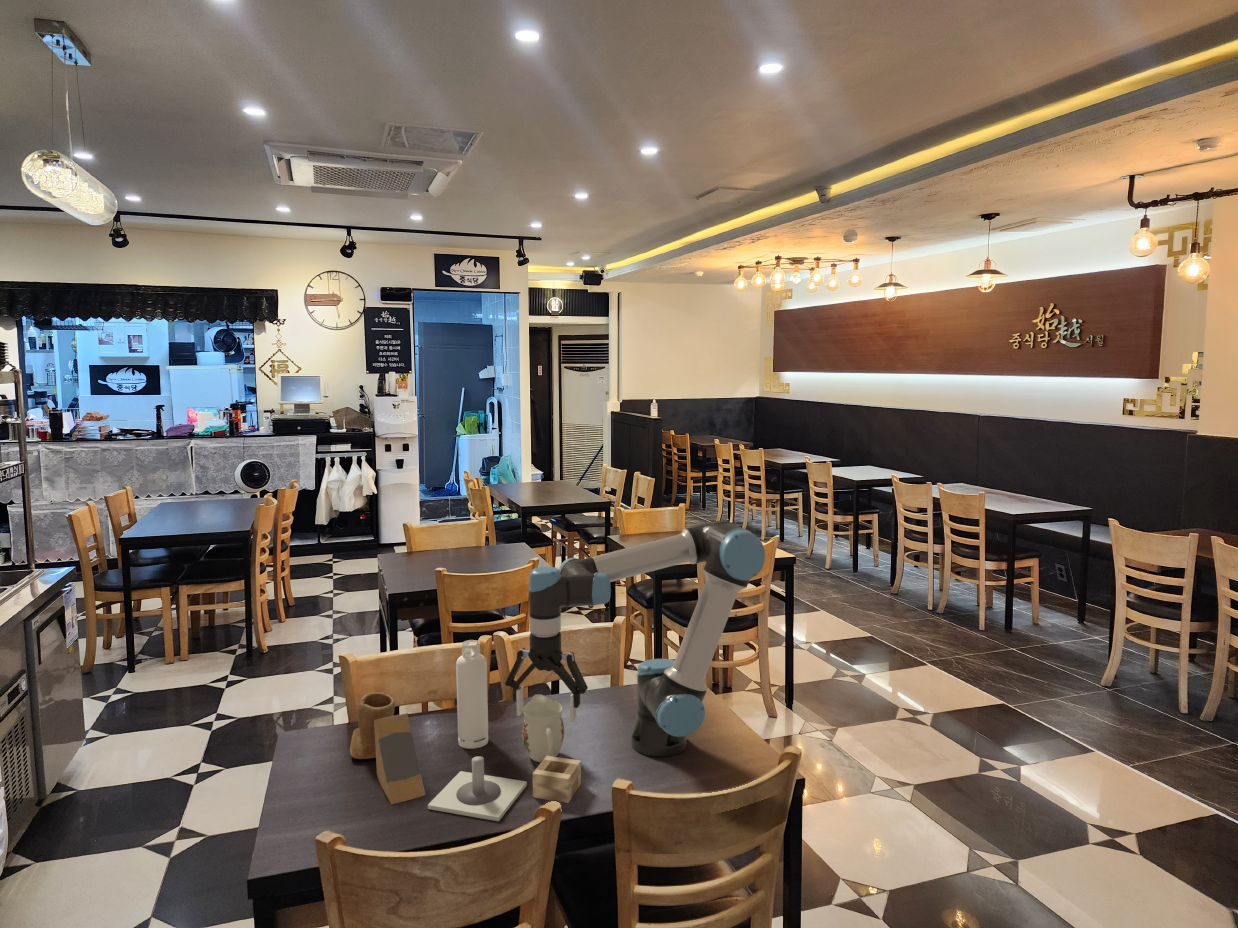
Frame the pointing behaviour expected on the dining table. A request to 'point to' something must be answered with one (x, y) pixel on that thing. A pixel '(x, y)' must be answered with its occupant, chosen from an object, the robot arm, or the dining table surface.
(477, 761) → the post stand
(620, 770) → the dining table surface
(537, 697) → the pitcher
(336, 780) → the dining table surface
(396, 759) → the sandwich container
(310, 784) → the dining table surface
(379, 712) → the tan boot
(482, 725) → the bottle
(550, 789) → the collar
